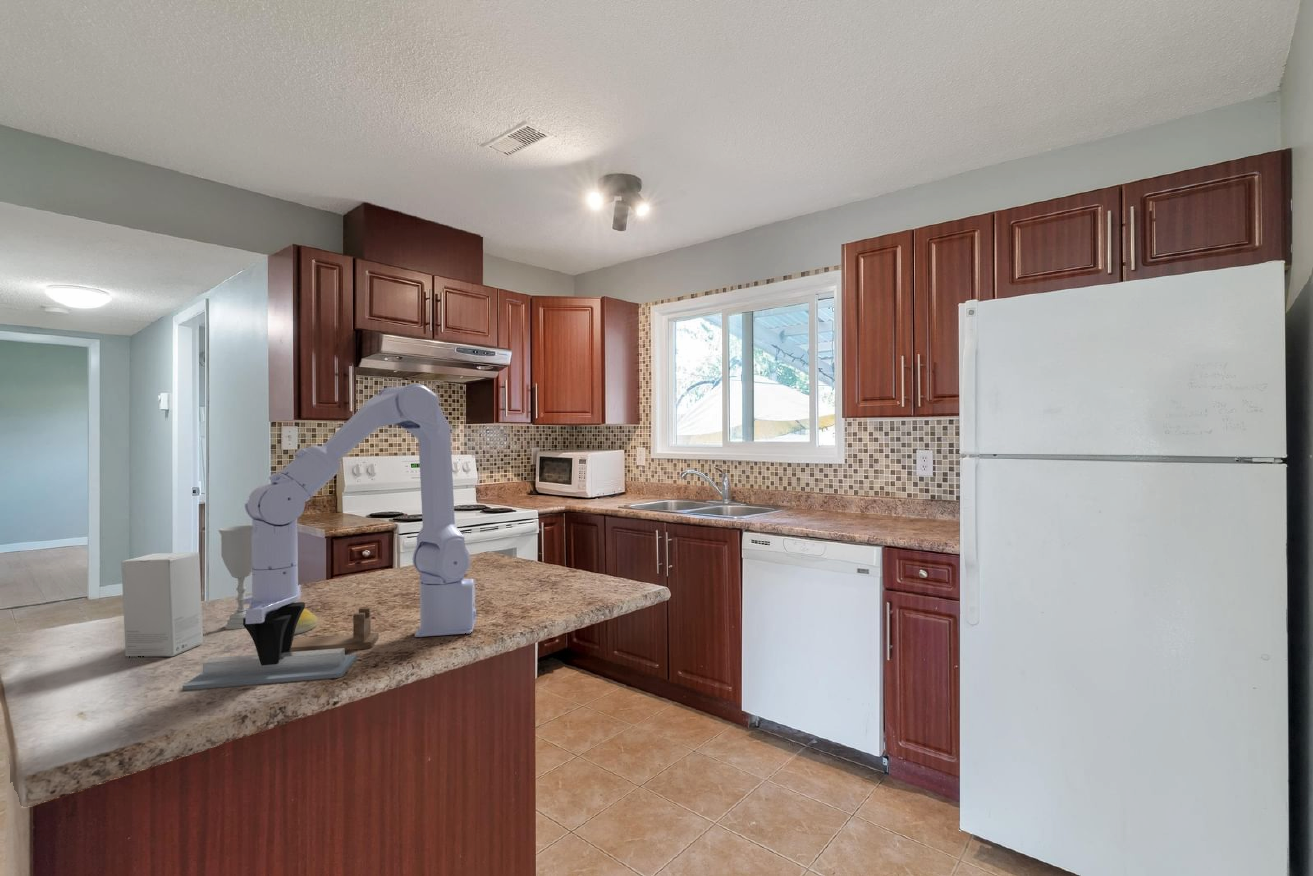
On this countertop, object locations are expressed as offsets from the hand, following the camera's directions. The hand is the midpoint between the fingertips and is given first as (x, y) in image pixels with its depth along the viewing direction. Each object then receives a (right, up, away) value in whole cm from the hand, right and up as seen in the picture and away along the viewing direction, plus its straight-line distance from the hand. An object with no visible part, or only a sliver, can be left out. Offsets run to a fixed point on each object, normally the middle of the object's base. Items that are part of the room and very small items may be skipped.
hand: (275, 659), depth 89 cm
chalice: (-21, -3, +24) cm, 32 cm away
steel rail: (0, -1, 0) cm, 1 cm away
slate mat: (0, -2, 0) cm, 2 cm away
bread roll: (-11, -3, +21) cm, 24 cm away
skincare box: (-25, -3, +10) cm, 27 cm away
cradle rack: (+1, -2, +11) cm, 12 cm away
